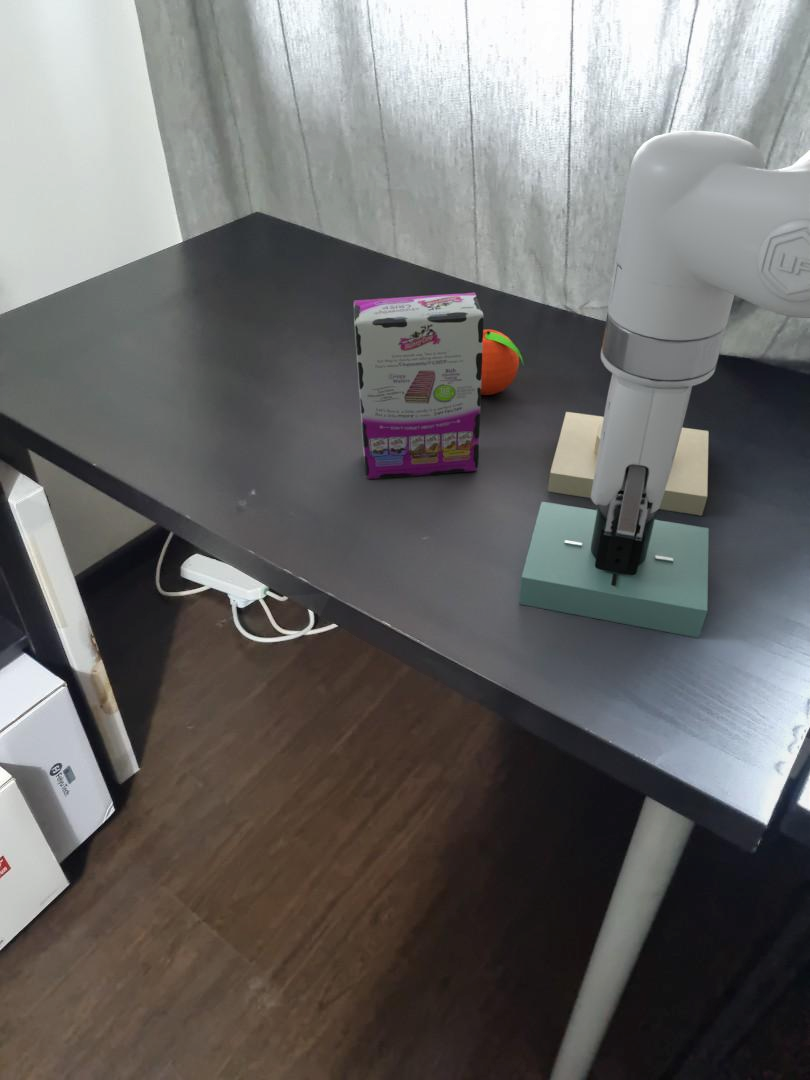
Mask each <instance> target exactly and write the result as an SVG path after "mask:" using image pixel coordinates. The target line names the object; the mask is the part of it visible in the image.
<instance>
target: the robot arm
mask: <svg viewBox="0 0 810 1080" xmlns="http://www.w3.org/2000/svg"><path fill="white" fill-rule="evenodd" d="M765 162H766V161H765V159H764V156H763V154H762V151H760V149H759V148H758V147H756V145H754V143H752V142H750V141H748V140H746V139H743V138H741V137H739V136H735V135H731V134H728V133H722V132H716V131H708V130H677V131H671V132H666V133H663V134H658V135H655V136H653V137H652V138H650V139H648V140H647V141H645V142H643V143H642V145H641V146H640V147H639V148H638V149H637V150H636V152H635V154H634V156H633V158H632V161H631V164H630V168H629V172H628V178H627V182H626V183H627V184H626V189H625V195H624V196H625V197H624V202H623V203H624V204H623V209H622V216H621V222H620V229H619V236H618V241H617V248H616V255H615V259H614V260H615V261H614V268H613V274H612V280H611V286H610V287H611V288H610V293H609V300H608V306H607V313H606V319H605V325H604V331H603V337H602V344H601V350H600V361H601V363H602V365H603V366H604V368H606V369H607V371H609V373H611V378H610V381H609V387H608V391H607V397H606V403H605V407H604V413H603V417H604V419H603V425H602V431H601V437H600V443H599V450H598V455H597V461H596V467H595V474H594V480H593V486H592V492H591V498H590V500H591V501H592V502H593V504H594V505H595V506H598V504H599V505H604V506H607V505H608V504H609V503H610V505H609V510H608V516H607V521H606V526H603V525H602V529H601V534H600V540H599V545H598V551H597V556H596V561H595V567H596V568H597V569H600V570H605V571H611V572H616V573H622V574H628V575H635V574H636V573H637V569H638V565H639V561H640V556H641V552H642V548H643V543H644V539H645V532H644V527H645V522H646V517H647V513H648V510H650V514H651V513H653V512H655V511H656V512H657V511H658V510H660V509H659V507H660V505H661V502H662V498H663V495H664V492H665V489H666V485H667V482H668V478H669V475H670V471H671V468H672V464H673V461H674V457H675V453H676V450H677V446H678V442H679V438H680V434H681V430H682V428H683V425H684V422H685V418H686V414H687V410H688V407H689V403H690V397H691V394H692V390H693V387H694V386H698V385H700V384H702V383H705V382H706V381H708V380H709V379H710V378H712V376H713V375H714V373H715V372H716V368H717V364H718V360H719V357H720V353H721V348H722V345H723V342H724V338H725V334H726V330H727V326H728V321H729V318H730V315H731V311H732V306H733V303H734V298H735V296H736V297H738V298H740V299H742V300H743V301H746V302H748V303H750V304H752V305H755V306H757V307H759V308H762V309H764V310H766V311H770V312H772V313H775V314H778V315H782V316H786V317H791V318H798V319H810V149H809V150H808V151H807V152H806V153H804V154H803V155H802V156H801V157H800V158H798V160H797V161H795V163H793V164H792V165H789V166H786V167H782V168H778V169H777V168H776V169H766V163H765ZM619 491H624V494H618V492H619ZM642 495H643V496H644V497H645V498H643V497H642ZM616 507H621V510H620V516H619V517H615V512H616ZM639 510H640V512H639ZM638 514H639V516H638ZM614 518H615V519H614ZM637 519H638V521H637Z"/></svg>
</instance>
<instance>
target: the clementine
mask: <svg viewBox="0 0 810 1080" xmlns="http://www.w3.org/2000/svg"><path fill="white" fill-rule="evenodd" d="M520 361H521V363H522V366H523V367H525V364H524V361H523V356H522V354H521V352H520V350H519V349H518V347H517V346H516V345H515V343H514V342H513V341H512V340H511V339H510V337H509V336H507V335H506V334H504V333H502V332H500V331H498V330H494V329H483V347H482V377H481V396H490V395H496V394H498V393H501V392H503V391H504V390H506V389H507V388H508V387H509V386H510V385H511V384H512V383H513V381H514V380H515V378H516V376H517V374H518V370H519V366H520Z"/></svg>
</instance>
